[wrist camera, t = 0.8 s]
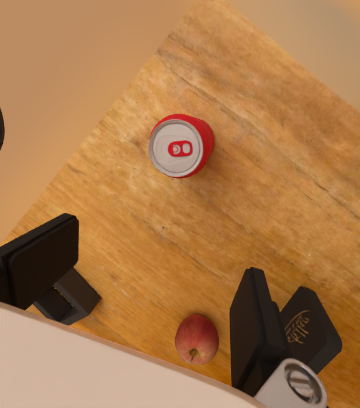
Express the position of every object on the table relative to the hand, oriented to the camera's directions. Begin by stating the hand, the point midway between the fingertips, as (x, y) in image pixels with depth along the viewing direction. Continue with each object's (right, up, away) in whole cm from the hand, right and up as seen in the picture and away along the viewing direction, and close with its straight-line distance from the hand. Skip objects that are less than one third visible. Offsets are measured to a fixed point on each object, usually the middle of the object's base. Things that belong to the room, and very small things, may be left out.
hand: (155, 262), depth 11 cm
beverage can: (+3, +12, +19) cm, 23 cm away
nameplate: (+19, -20, +27) cm, 39 cm away
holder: (-23, -16, +35) cm, 45 cm away
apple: (+5, -21, +31) cm, 38 cm away
